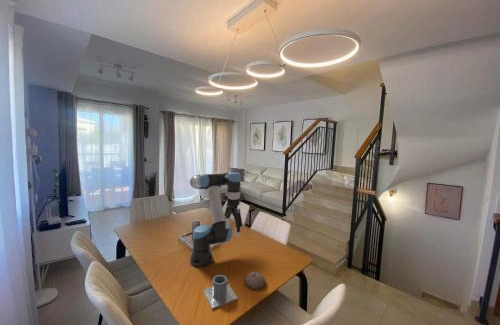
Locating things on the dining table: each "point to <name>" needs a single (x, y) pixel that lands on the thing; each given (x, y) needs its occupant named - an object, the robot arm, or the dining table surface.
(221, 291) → the sleeve
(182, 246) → the dining table surface
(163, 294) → the dining table surface
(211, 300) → the square plate
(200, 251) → the robot arm
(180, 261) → the dining table surface
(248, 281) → the decorative stone
